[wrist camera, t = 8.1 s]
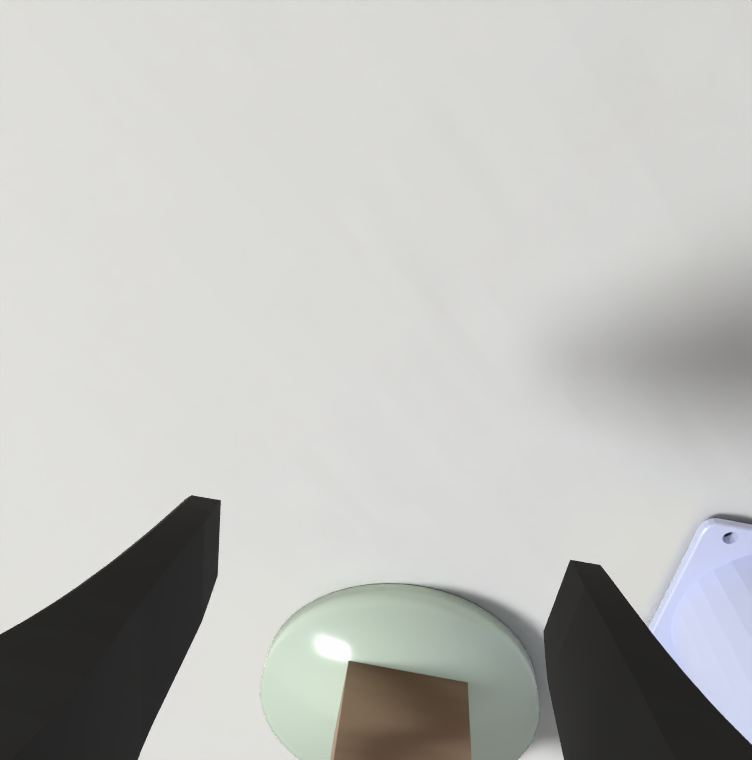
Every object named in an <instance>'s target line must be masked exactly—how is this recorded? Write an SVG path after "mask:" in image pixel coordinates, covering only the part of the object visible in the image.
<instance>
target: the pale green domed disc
mask: <svg viewBox="0 0 752 760" xmlns="http://www.w3.org/2000/svg"><path fill="white" fill-rule="evenodd" d="M348 661H354V662H359V663H365V664H370V665H376V666H381V667H386V668H392V669H397V670H403V671H408V672H414V673H419V674H425V675H430V676H436V677H441V678H446V679H452V680H457V681H463V682H468V697H469V717H470V737H471V758H472V760H518V759H519V758H520V757H521V756H522V754H523V753H524V752H525V751H526V749H527V748H528V747H529V745H530V743H531V741H532V739H533V737H534V735H535V732H536V729H537V726H538V721H539V713H540V710H539V698H538V692H537V686H536V680H535V674H534V670H533V667H532V663H531V660H530V658H529V656H528V654H527V652H526V650H525V648H524V647H523V645H522V644H521V642H520V641H519V640H518V638H517V637H516V636H515V635H514V634H513V633H512V631H511V630H510V629H509V628H508V627H507V626H506V625H505V624H503V623H502V622H501V621H500V620H498V619H497V618H496V617H495V616H493V615H492V614H490V613H489V612H487V611H486V610H484V609H482V608H481V607H479V606H477V605H475V604H473V603H471V602H469V601H467V600H465V599H463V598H460V597H458V596H455V595H452V594H449V593H446V592H443V591H439V590H435V589H431V588H427V587H421V586H414V585H406V584H373V585H363V586H357V587H351V588H347V589H343V590H340V591H336V592H333V593H330V594H328V595H325V596H323V597H321V598H318V599H316V600H314V601H313V602H311V603H309V604H307V605H306V606H304V607H302V608H301V609H300V610H299V611H297V612H296V613H295V614H293V615H292V616H291V617H290V618H289V619H288V620H287V621H286V622H285V623H284V624H283V625H282V627H281V628H280V630H279V631H278V633H277V634H276V636H275V637H274V640H273V642H272V644H271V646H270V649H269V652H268V656H267V659H266V663H265V666H264V669H263V673H262V678H261V682H260V700H261V706H262V710H263V713H264V715H265V718H266V721H267V723H268V724H269V726H270V728H271V730H272V732H273V733H274V734H275V736H276V737H277V738H278V740H279V741H280V742H281V743H282V744H283V745H284V746H285V747H286V748H287V750H288V751H289V752H290V753H292V754H293V755H294V756H295V757H297V758H298V759H299V760H330V757H331V751H332V744H333V738H334V733H335V728H336V722H337V717H338V712H339V707H340V702H341V697H342V692H343V687H344V681H345V676H346V671H347V666H348Z"/></svg>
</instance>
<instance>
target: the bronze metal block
mask: <svg viewBox="0 0 752 760" xmlns="http://www.w3.org/2000/svg"><path fill="white" fill-rule="evenodd" d="M330 760H472V758H471V737H470V717H469V697H468V682H463V681H457V680H452V679H446V678H441V677H436V676H430V675H425V674H419V673H414V672H408V671H403V670H397V669H392V668H386V667H381V666H376V665H370V664H365V663H359V662H354V661H348V666H347V671H346V676H345V681H344V687H343V692H342V697H341V702H340V707H339V712H338V717H337V722H336V728H335V733H334V738H333V744H332V751H331V757H330Z"/></svg>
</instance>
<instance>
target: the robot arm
mask: <svg viewBox="0 0 752 760" xmlns="http://www.w3.org/2000/svg"><path fill="white" fill-rule="evenodd" d="M220 505H221V500H216V499H210V498H204V497H198V496H192V495H191V496H190V497H188V498H187V499H185V500H184V501H183V502H182V503H181V504H180V505H179V506H177V507H176V508H175V509H174V510H173V511H172V512H171V513H170V514H168V515H167V516H166V517H165V518H164V519H163V520H162V521H160V522H159V523H158V524H157V525H156V526H155V527H154V528H152V529H151V530H150V531H149V532H148V533H146V534H145V535H144V536H143V537H142V538H140V539H139V540H138V541H137V542H136V543H134V544H133V545H132V546H131V547H129V548H128V549H127V550H126V551H124V552H123V553H122V554H121V555H119V556H118V557H117V558H116V559H114V560H113V561H112V562H111V563H109V564H108V565H107V566H105V567H104V568H102V569H101V570H100V571H98V572H97V573H96V574H94V575H93V576H91V577H90V578H89V579H87V580H86V581H85V582H83V583H82V584H81V585H79V586H78V587H76V588H75V589H73V590H72V591H71V592H69V593H68V594H66V595H65V596H63V597H62V598H60V599H59V600H57V601H56V602H54V603H52V604H51V605H49V606H48V607H46V608H45V609H43V610H41V611H40V612H38V613H36V614H35V615H33V616H32V617H30V618H28V619H27V620H25V621H23V622H22V623H20V624H18V625H16V626H14V627H13V628H11V629H9V630H7V631H6V632H4V633H2V634H0V760H138V758H139V755H140V752H141V750H142V747H143V745H144V743H145V740H146V738H147V736H148V733H149V731H150V729H151V726H152V724H153V722H154V720H155V718H156V716H157V714H158V712H159V710H160V708H161V705H162V703H163V701H164V699H165V697H166V695H167V693H168V691H169V689H170V687H171V685H172V683H173V681H174V679H175V676H176V674H177V672H178V670H179V668H180V666H181V664H182V662H183V660H184V658H185V656H186V654H187V652H188V649H189V647H190V645H191V643H192V641H193V639H194V637H195V635H196V633H197V631H198V628H199V626H200V624H201V622H202V619H203V616H204V614H205V611H206V608H207V605H208V602H209V599H210V596H211V593H212V590H213V587H214V585H215V582H216V579H217V576H218V552H219V529H220ZM729 532H733V533H732V534H731V535H729V536H724V535H725V534H726V533H729ZM544 643H545V657H546V668H547V678H548V685H549V690H550V695H551V700H552V704H553V709H554V714H555V719H556V724H557V728H558V733H559V738H560V742H561V747H562V752H563V756H564V760H752V524H746V523H741V522H736V521H730V520H725V519H720V518H711V519H707V520H705V521H704V522H702V523H701V525H700V526H699V528H698V530H697V532H696V534H695V536H694V538H693V540H692V542H691V544H690V546H689V548H688V550H687V552H686V554H685V556H684V558H683V560H682V562H681V564H680V566H679V568H678V570H677V572H676V574H675V576H674V578H673V580H672V582H671V584H670V586H669V588H668V590H667V592H666V594H665V596H664V598H663V600H662V602H661V604H660V606H659V608H658V610H657V612H656V614H655V616H654V618H653V620H652V622H651V624H650V626H649V628H648V627H647V626H646V625H645V623H644V622H643V621H642V619H641V618H640V617H639V615H638V614H637V613H636V611H635V610H634V609H633V608H632V606H631V605H630V604H629V602H628V601H627V600H626V598H625V597H624V596H623V594H622V593H621V592H620V590H619V589H618V588H617V586H616V585H615V584H614V582H613V581H612V580H611V578H610V577H609V576H608V574H607V573H606V572H605V571H604V569H603V568H602V567H601V565H597V564H591V563H585V562H579V561H574V560H570V562H569V565H568V567H567V570H566V573H565V575H564V578H563V581H562V584H561V586H560V589H559V592H558V594H557V597H556V600H555V602H554V605H553V608H552V610H551V613H550V616H549V618H548V621H547V624H546V626H545V629H544Z"/></svg>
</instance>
